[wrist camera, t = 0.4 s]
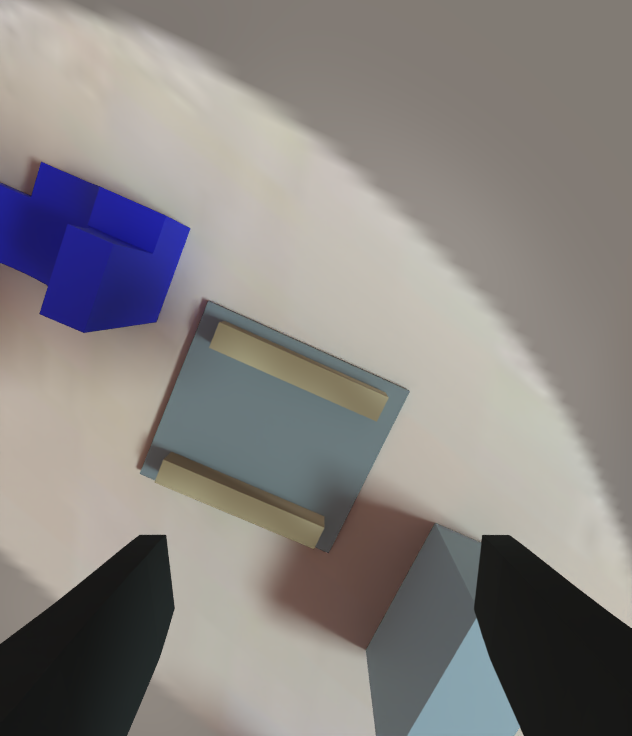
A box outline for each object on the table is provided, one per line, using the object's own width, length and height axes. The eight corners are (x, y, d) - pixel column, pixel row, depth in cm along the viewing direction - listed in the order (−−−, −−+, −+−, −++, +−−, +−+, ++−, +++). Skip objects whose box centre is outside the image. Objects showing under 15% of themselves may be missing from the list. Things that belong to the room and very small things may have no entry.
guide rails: (314, 537, 20) (313, 549, 19) (162, 473, 20) (154, 482, 19) (385, 392, 19) (388, 397, 18) (224, 320, 19) (219, 322, 18)
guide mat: (328, 549, 21) (328, 553, 20) (142, 471, 20) (139, 474, 20) (408, 390, 19) (409, 391, 19) (210, 301, 19) (208, 301, 18)
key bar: (426, 673, 22) (464, 812, 16) (365, 648, 22) (381, 779, 16) (499, 549, 21) (569, 650, 15) (434, 521, 21) (479, 612, 15)
